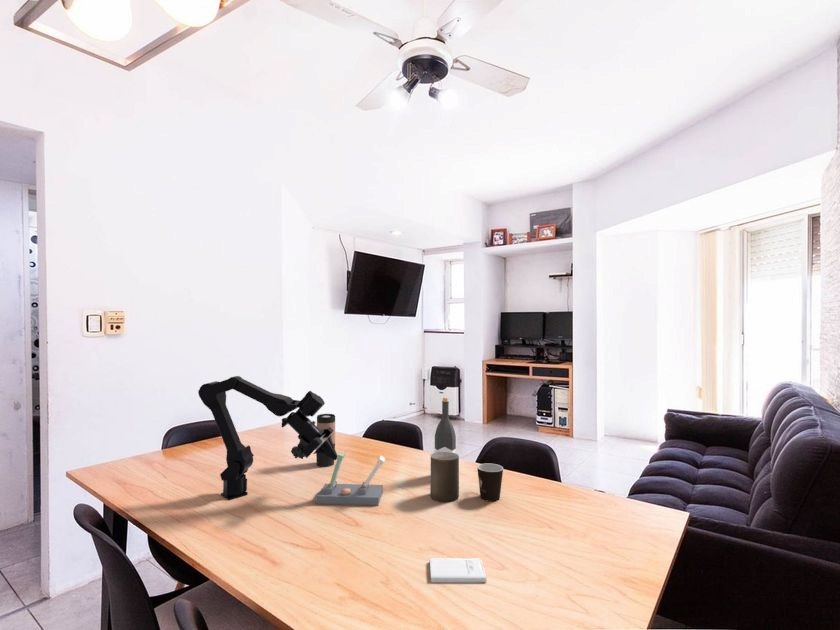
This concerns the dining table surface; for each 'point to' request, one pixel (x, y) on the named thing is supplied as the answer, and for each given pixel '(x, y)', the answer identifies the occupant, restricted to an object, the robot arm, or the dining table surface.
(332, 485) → the green lever
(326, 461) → the travel mug
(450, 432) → the wine bottle
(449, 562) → the external hard drive
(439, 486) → the pillar candle
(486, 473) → the coffee mug
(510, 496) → the dining table surface
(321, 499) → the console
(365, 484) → the ivory lever
